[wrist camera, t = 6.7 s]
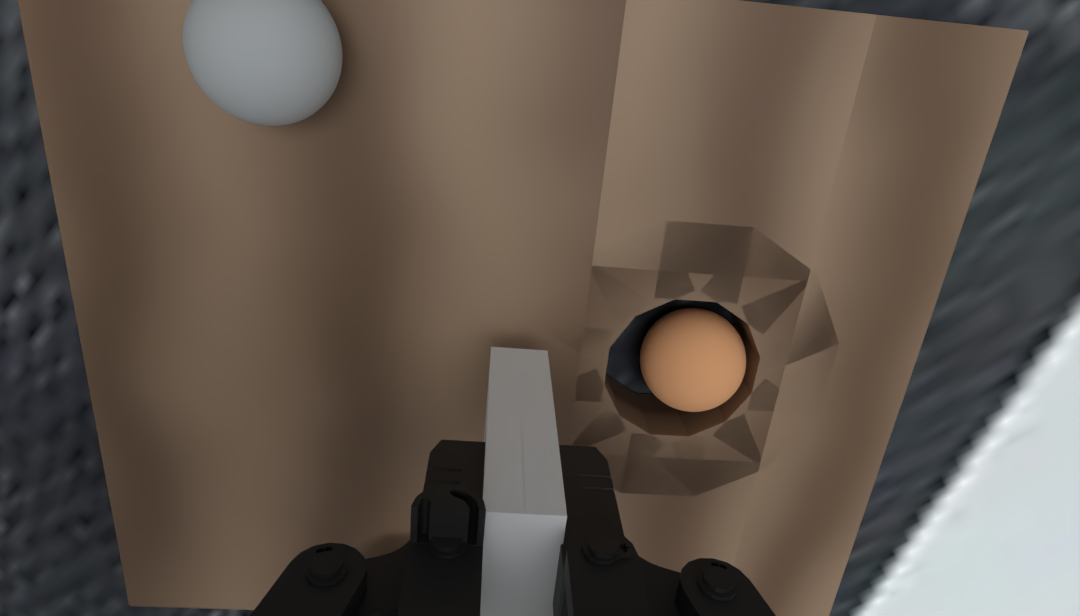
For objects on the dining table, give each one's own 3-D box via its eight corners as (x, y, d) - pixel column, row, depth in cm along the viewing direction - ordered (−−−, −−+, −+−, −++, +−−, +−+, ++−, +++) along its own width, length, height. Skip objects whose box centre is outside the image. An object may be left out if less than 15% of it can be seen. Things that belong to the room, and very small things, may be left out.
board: (163, 551, 25) (129, 605, 23) (69, -65, 17) (3, -77, 15) (797, 575, 27) (824, 628, 25) (966, 29, 19) (1028, 30, 17)
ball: (770, 412, 20) (733, 388, 23) (754, 304, 20) (718, 294, 23) (661, 434, 20) (639, 406, 23) (643, 325, 19) (623, 312, 23)
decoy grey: (223, 109, 17) (164, 129, 14) (211, -36, 16) (143, -48, 13) (356, 121, 17) (325, 143, 14) (354, -21, 16) (320, -29, 13)
